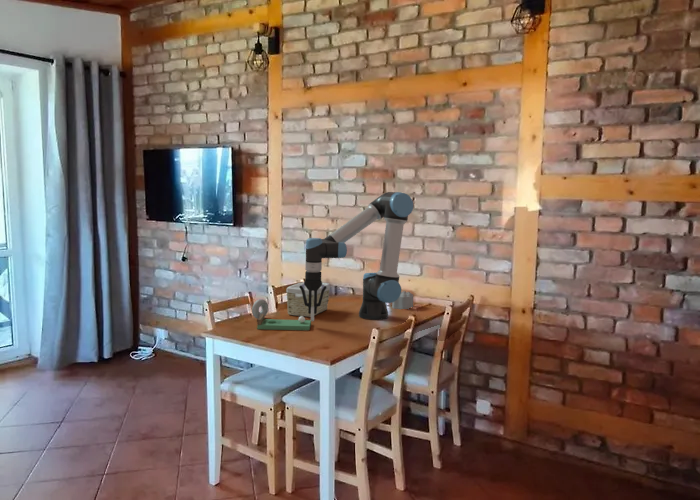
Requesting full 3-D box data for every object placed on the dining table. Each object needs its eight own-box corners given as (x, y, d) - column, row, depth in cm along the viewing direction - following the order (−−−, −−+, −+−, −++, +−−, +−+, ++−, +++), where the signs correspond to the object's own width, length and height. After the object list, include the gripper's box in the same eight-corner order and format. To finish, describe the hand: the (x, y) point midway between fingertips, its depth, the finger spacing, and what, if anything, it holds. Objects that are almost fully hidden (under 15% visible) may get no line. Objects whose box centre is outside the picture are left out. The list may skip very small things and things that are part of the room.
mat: (311, 324, 278) (311, 320, 278) (309, 330, 266) (309, 326, 266) (261, 323, 278) (261, 319, 277) (257, 329, 266) (257, 325, 266)
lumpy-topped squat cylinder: (389, 307, 321) (390, 292, 320) (400, 304, 332) (400, 289, 331) (406, 310, 315) (407, 294, 314) (416, 306, 326) (417, 291, 325)
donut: (255, 321, 282) (255, 301, 281) (250, 320, 284) (250, 300, 283) (269, 317, 290) (269, 298, 289) (264, 316, 292) (264, 297, 291)
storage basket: (303, 306, 318) (303, 280, 317) (330, 309, 313) (331, 282, 311) (284, 315, 296) (284, 287, 294) (313, 318, 290) (314, 289, 289)
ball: (305, 322, 273) (305, 315, 273) (304, 323, 270) (304, 317, 270) (298, 322, 273) (298, 315, 273) (298, 323, 270) (298, 317, 270)
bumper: (264, 319, 277) (264, 314, 277) (260, 325, 266) (260, 319, 265) (261, 319, 277) (261, 314, 277) (257, 325, 266) (257, 319, 265)
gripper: (298, 271, 265) (297, 322, 268) (327, 272, 265) (325, 322, 268) (300, 269, 273) (299, 318, 275) (327, 270, 273) (326, 319, 275)
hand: (312, 320), depth 271 cm, fingers closed
